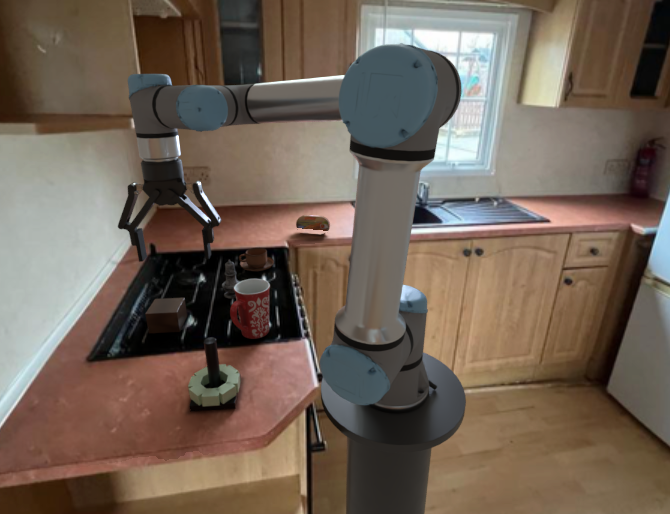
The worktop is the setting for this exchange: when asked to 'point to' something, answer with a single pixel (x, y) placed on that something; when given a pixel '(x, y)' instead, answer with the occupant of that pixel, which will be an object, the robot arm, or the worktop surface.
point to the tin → (313, 222)
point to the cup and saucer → (256, 260)
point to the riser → (166, 315)
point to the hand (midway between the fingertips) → (176, 258)
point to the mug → (251, 308)
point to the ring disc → (214, 394)
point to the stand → (213, 378)
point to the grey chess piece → (230, 280)
